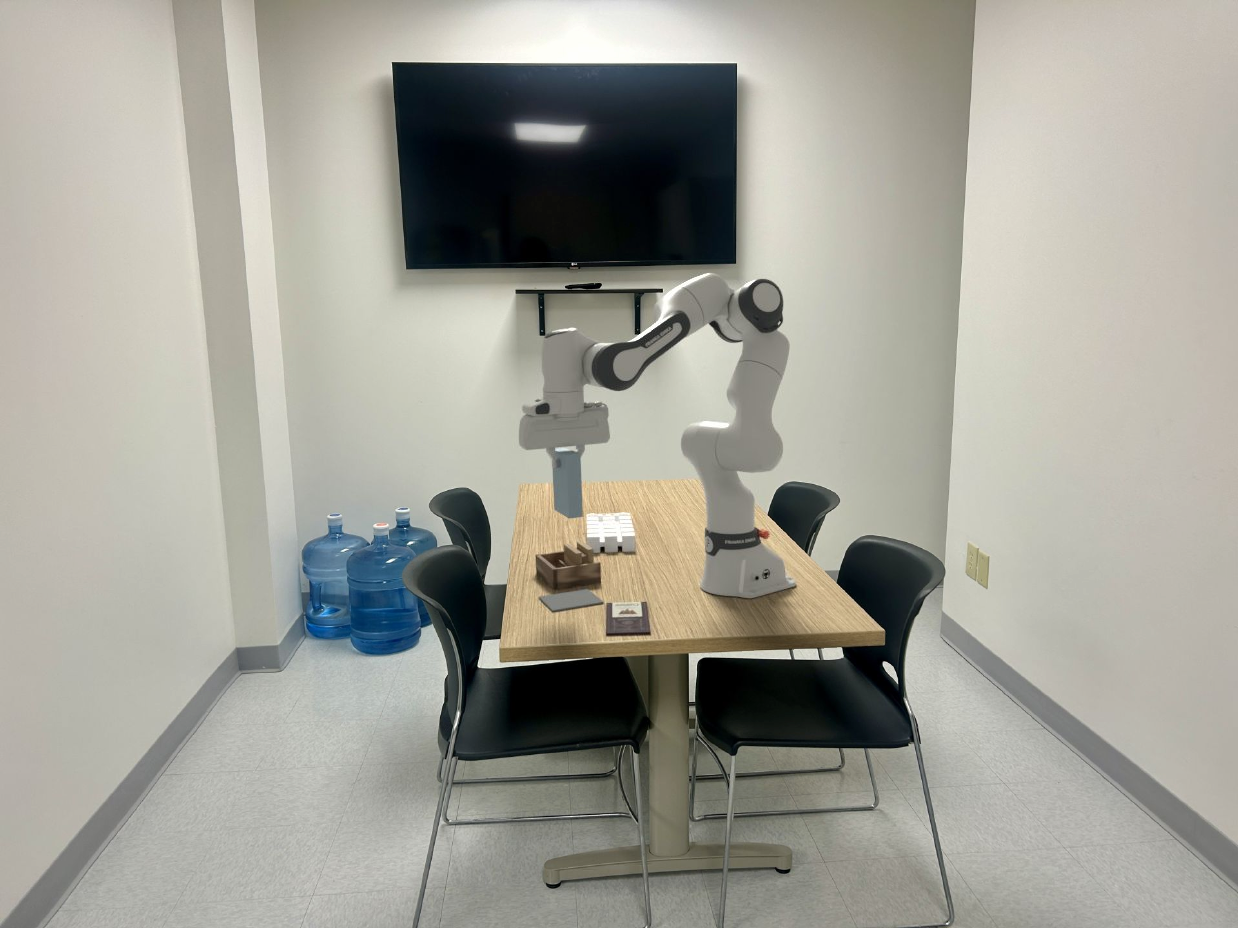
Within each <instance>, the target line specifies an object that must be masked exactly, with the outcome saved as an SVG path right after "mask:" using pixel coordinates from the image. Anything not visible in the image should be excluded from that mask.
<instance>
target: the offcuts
mask: <svg viewBox="0 0 1238 928" xmlns="http://www.w3.org/2000/svg"><path fill="white" fill-rule="evenodd" d="M563 551H564V560H565V564H566V565H567V566H575V565H581V564H588V563H594V562H595V557H594V554H595V553H594V552H593V548H591V547H590V546H588V545H587V543H586V542H585V541H582V540H581V541H576V546H575V545H571V544H570V543H567V544H563Z"/></svg>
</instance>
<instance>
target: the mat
mask: <svg viewBox="0 0 1238 928" xmlns="http://www.w3.org/2000/svg"><path fill="white" fill-rule="evenodd" d="M538 599H539V600H540V601H541V602H542V603H543V604H544V605H545V606H546V607H547V608H548V609H549V610H550V611H551V612H552V613H554V612H555V613H556V612H562V611H567V610H572V609H579V608H585V607H591V606H596V605H602V604H604V603H605V602H604V601H603V600H602V599H600V597H598V596H597V595H596V594H595V593H593V591H591V590H590V589H589V588H585V589H579V590H571V591H566V592H561V593H560V592H559V593H555V594H548V595H542V596H538Z"/></svg>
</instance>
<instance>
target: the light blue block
mask: <svg viewBox="0 0 1238 928" xmlns="http://www.w3.org/2000/svg"><path fill="white" fill-rule="evenodd" d="M553 454H554V456H555V458H556V459H560V462H561V463H560V465H561V467H560V468H553V467H552V466H551V469H552V488H553V489H552V490H553V491H552V492H553V506H554V508H553V509H554V511H555V512H557V513H559V514H560V515H562V516H564V517H566V518H567V519H575V518H576V519H578V518H583V517H584V512H583V488H582V487H583V485H582V484H583V483H582V462H581V459H582V456H580V453H578V452H577V451H574V450H572V449H570V448H566V447H557V448H555V453H553Z"/></svg>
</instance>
